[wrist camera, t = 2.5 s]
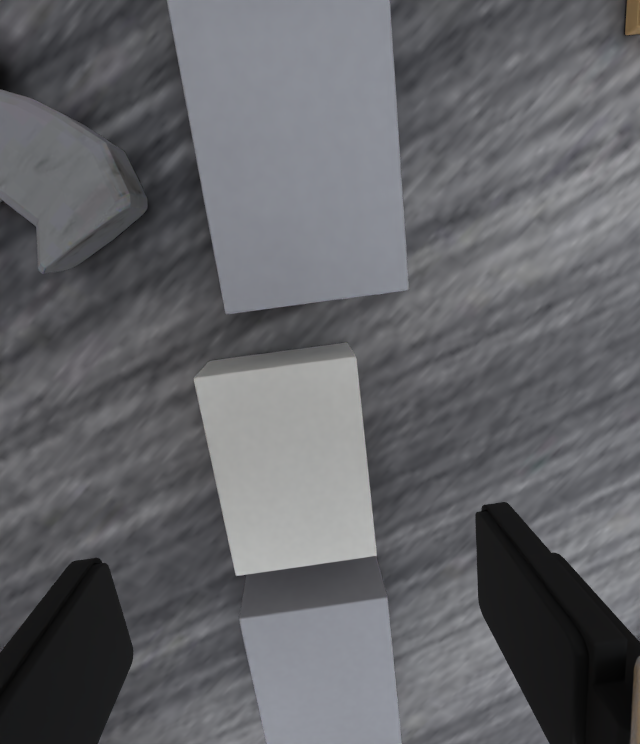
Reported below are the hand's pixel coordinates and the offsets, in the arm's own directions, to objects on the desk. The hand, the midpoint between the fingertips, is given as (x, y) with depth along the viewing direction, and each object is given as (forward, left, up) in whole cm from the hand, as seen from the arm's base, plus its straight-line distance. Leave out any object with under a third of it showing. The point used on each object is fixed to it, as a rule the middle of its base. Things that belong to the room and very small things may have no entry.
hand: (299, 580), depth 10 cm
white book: (0, 0, -7) cm, 7 cm away
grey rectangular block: (+10, 0, -7) cm, 12 cm away
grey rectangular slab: (-11, +1, -7) cm, 13 cm away
